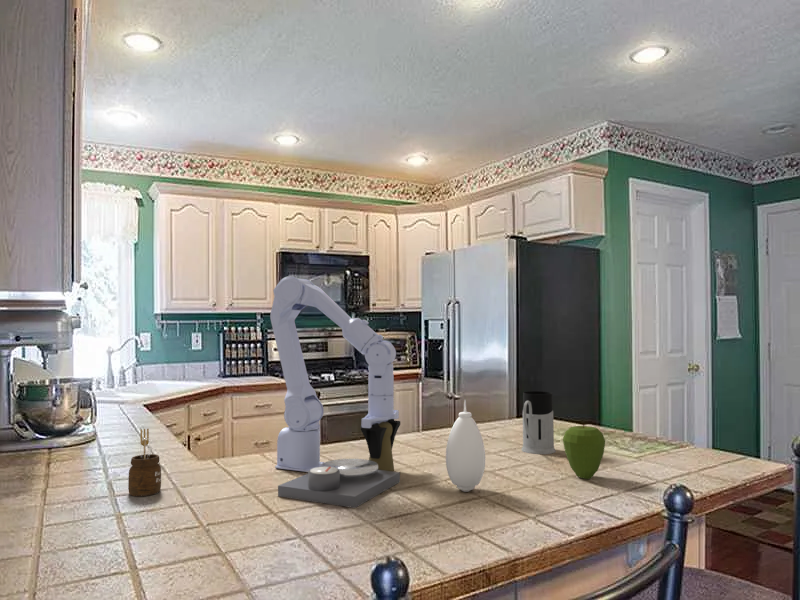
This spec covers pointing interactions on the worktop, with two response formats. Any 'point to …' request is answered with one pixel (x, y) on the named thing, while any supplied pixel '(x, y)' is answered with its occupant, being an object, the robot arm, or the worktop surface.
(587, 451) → the apple
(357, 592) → the worktop surface
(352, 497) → the scale base
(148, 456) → the utensil holder
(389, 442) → the pepper mill
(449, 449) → the air blower bulb
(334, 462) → the scale pan
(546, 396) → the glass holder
